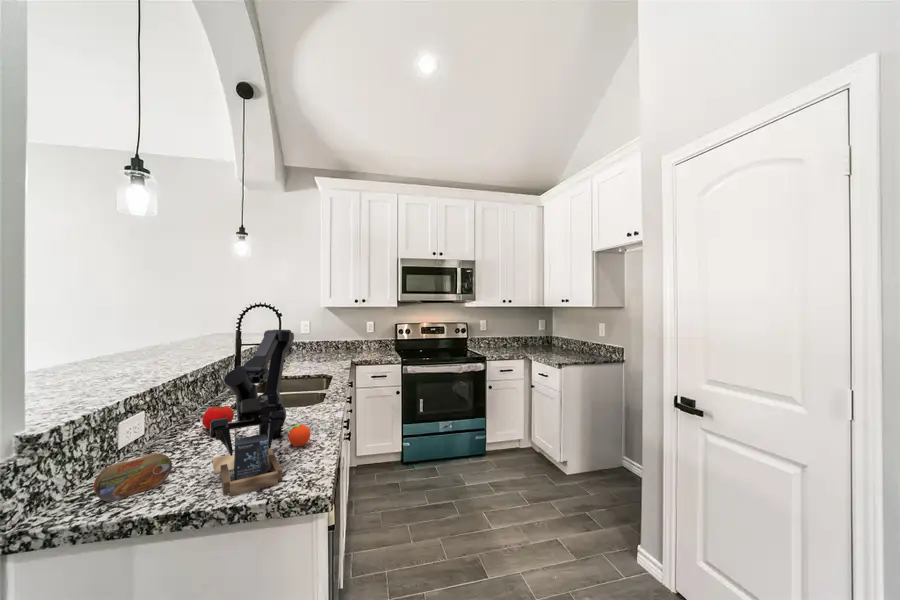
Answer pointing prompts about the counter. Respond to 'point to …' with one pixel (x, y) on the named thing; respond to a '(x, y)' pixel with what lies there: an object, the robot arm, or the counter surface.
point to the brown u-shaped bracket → (251, 479)
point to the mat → (228, 462)
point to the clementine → (299, 435)
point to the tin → (132, 476)
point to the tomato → (217, 415)
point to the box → (250, 456)
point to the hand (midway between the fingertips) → (251, 451)
